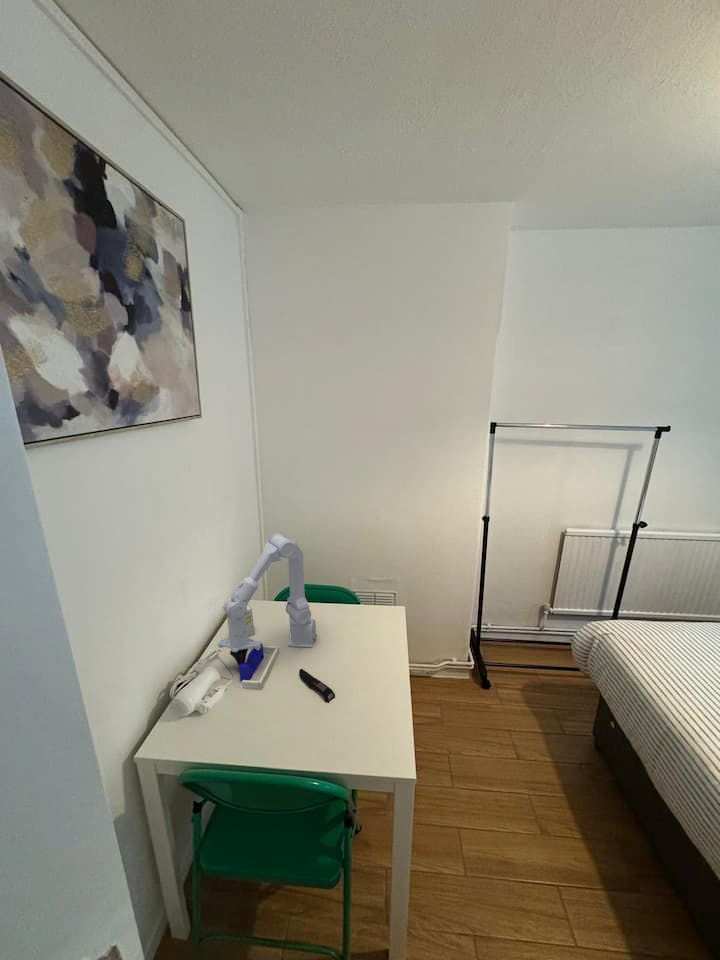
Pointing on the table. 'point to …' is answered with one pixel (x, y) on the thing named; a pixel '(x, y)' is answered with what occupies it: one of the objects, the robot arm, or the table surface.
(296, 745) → the table surface
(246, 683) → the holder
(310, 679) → the electric trimmer
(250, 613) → the ink box
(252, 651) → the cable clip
